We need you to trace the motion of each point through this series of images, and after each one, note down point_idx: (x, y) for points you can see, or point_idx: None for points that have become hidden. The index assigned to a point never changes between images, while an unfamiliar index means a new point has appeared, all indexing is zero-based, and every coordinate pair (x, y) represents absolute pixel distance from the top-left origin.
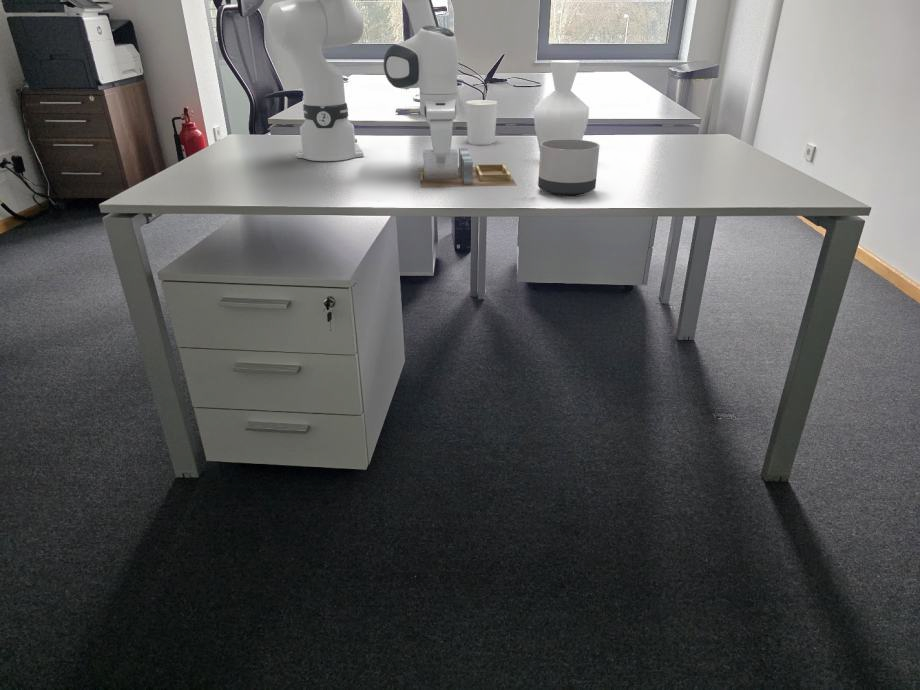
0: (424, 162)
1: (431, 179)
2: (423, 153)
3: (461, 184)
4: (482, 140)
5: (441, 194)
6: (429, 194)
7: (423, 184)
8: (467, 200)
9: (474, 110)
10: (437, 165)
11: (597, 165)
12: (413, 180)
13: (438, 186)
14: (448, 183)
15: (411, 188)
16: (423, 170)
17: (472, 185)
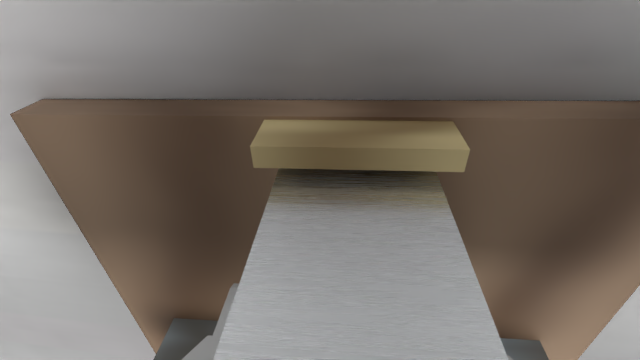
0: (251, 253)
1: (267, 195)
2: (219, 356)
3: (168, 310)
4: None
5: (60, 207)
6: (30, 150)
7: (105, 137)
8: (11, 285)
9: None
10: (221, 317)
11: None
12: (433, 41)
13: (86, 220)
14: (173, 268)
15: (145, 25)
16: (620, 154)
17: (159, 338)
